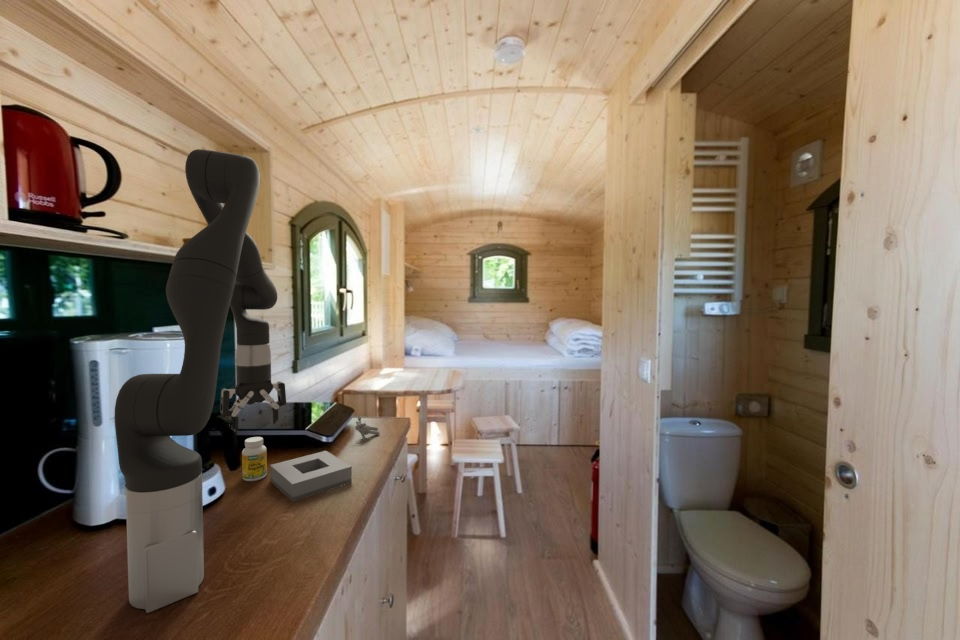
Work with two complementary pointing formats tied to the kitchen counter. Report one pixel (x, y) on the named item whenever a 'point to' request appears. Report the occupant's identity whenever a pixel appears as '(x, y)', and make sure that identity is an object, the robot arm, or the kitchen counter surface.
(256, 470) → the supplement bottle
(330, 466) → the socket block
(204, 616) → the kitchen counter surface
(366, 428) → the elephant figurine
